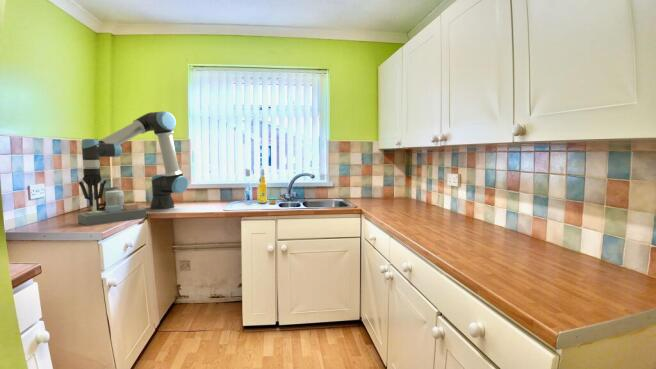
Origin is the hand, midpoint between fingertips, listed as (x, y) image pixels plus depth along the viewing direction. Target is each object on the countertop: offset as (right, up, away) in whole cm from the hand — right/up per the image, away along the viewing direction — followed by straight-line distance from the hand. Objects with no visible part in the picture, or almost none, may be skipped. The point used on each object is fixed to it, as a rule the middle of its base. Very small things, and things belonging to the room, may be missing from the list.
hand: (94, 211), depth 189 cm
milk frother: (-23, -2, +46) cm, 52 cm away
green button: (0, -4, 0) cm, 4 cm away
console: (+6, -5, +8) cm, 11 cm away
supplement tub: (-3, -4, +24) cm, 24 cm away
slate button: (+6, -1, +7) cm, 9 cm away
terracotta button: (+12, -1, +14) cm, 18 cm away
